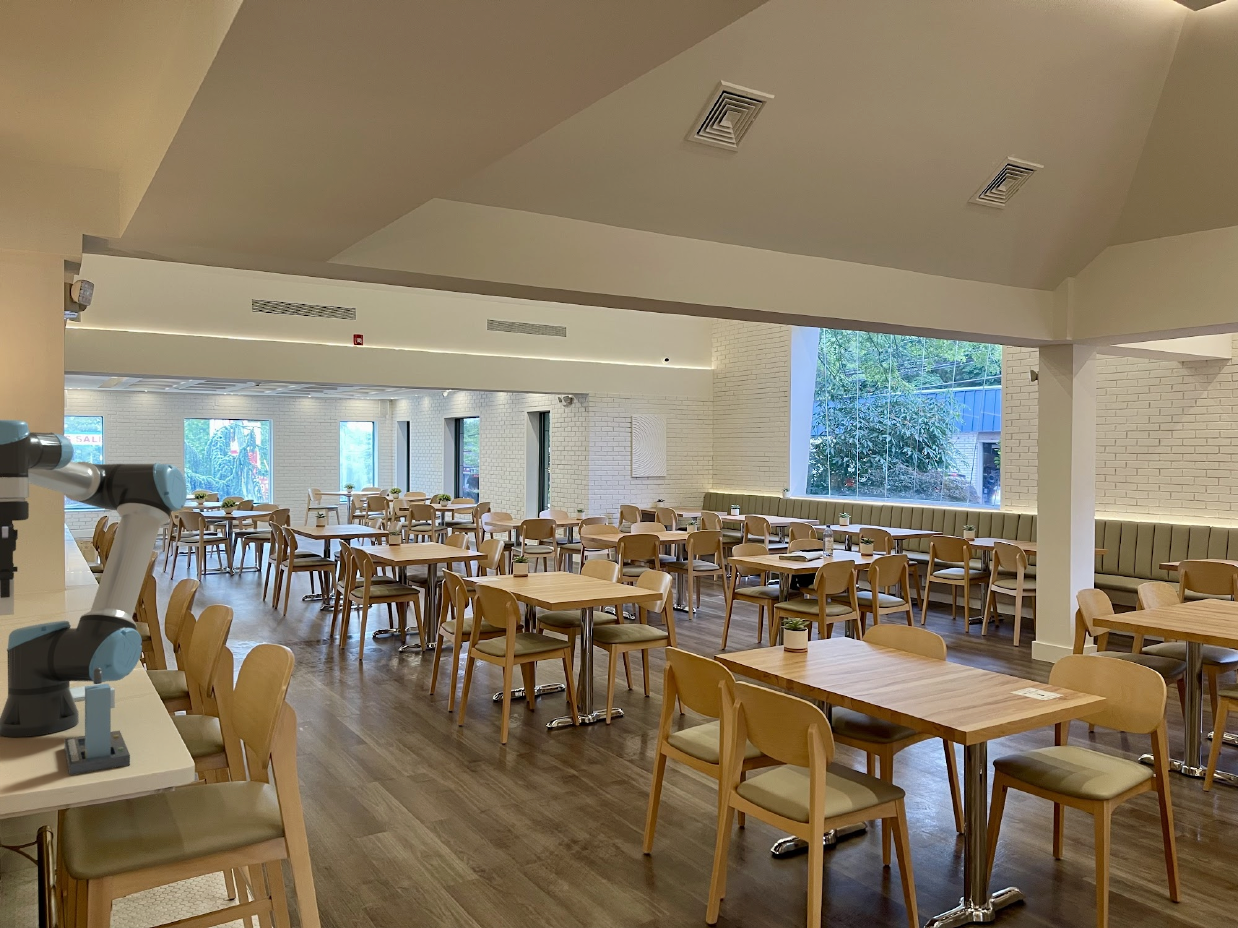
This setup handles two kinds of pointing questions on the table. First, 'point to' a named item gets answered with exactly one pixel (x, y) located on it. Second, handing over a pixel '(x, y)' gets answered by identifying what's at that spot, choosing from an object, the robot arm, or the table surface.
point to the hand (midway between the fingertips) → (5, 610)
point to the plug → (98, 717)
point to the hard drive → (78, 693)
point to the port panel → (82, 765)
